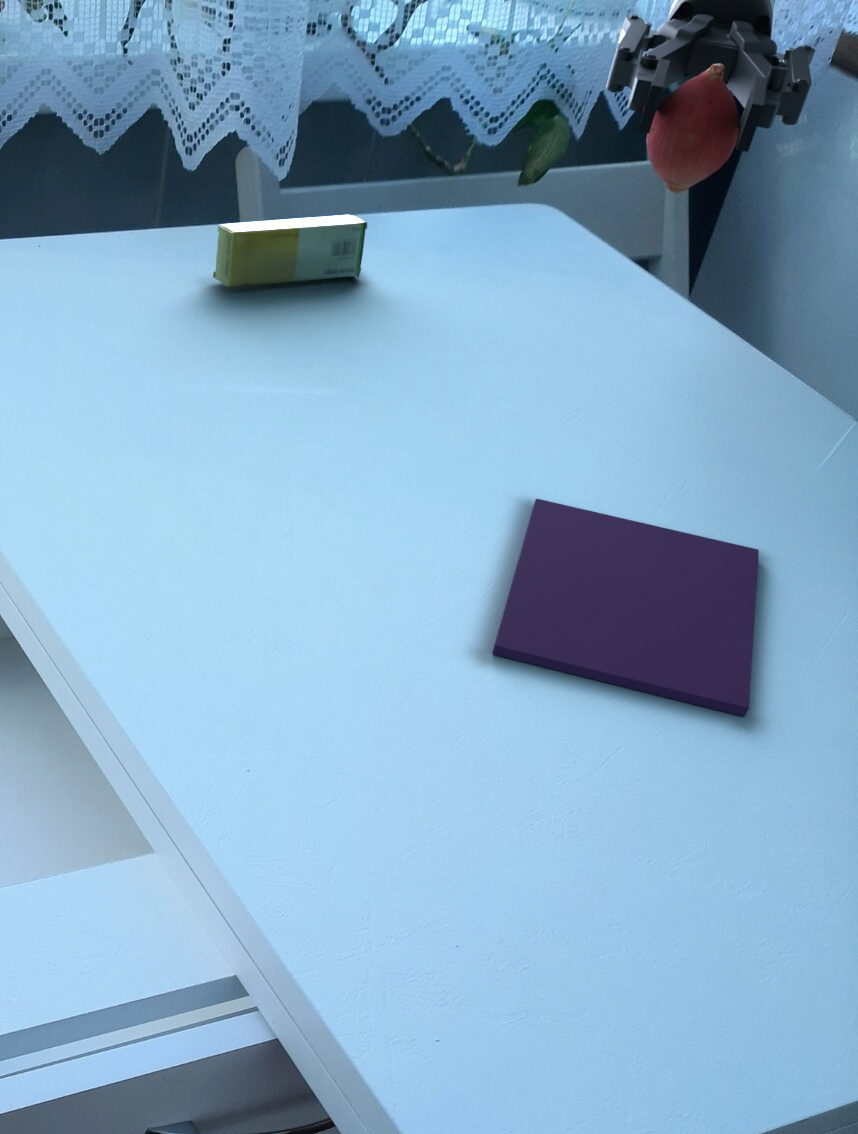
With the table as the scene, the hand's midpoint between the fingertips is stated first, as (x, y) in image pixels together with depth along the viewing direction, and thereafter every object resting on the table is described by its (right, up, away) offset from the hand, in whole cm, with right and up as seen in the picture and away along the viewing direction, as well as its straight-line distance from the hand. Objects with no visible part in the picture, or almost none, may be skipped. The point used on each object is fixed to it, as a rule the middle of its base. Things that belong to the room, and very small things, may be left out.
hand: (699, 118), depth 98 cm
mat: (-7, -33, -8) cm, 35 cm away
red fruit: (+1, -1, +8) cm, 8 cm away
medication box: (-24, -1, +21) cm, 32 cm away
